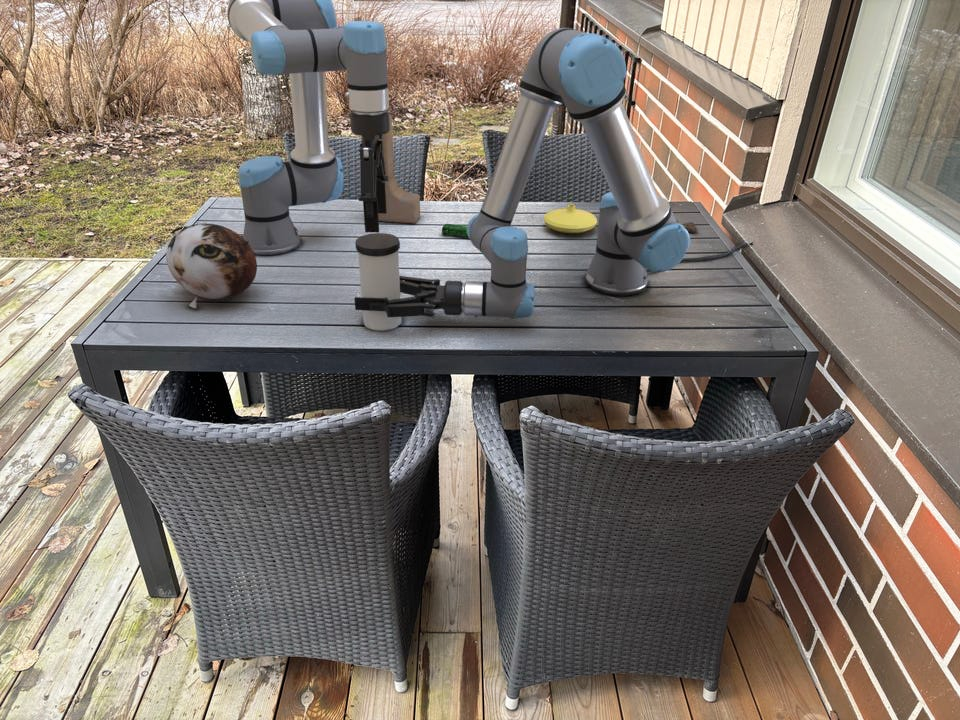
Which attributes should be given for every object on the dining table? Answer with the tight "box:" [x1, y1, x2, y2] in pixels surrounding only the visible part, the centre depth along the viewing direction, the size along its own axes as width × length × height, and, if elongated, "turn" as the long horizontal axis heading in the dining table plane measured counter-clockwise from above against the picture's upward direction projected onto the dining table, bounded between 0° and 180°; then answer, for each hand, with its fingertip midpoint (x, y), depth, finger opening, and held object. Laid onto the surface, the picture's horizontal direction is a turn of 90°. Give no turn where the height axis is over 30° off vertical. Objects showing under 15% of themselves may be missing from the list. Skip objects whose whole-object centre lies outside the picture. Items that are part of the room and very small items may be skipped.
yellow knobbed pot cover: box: [543, 203, 598, 234], centre depth 209 cm, size 16×16×7 cm
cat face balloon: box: [165, 222, 258, 309], centre depth 165 cm, size 22×18×20 cm
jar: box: [357, 250, 403, 331], centre depth 155 cm, size 8×8×19 cm
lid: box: [354, 232, 401, 256], centre depth 150 cm, size 9×9×2 cm
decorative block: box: [360, 113, 421, 224], centre depth 209 cm, size 8×15×30 cm, turn 82°
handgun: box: [441, 223, 469, 238], centre depth 207 cm, size 16×3×15 cm
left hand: (376, 222), depth 147 cm, fingers open, 11 cm apart
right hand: (359, 294), depth 156 cm, fingers closed on jar, 8 cm apart
